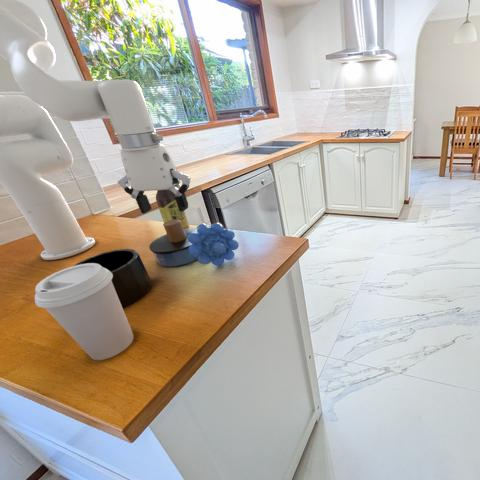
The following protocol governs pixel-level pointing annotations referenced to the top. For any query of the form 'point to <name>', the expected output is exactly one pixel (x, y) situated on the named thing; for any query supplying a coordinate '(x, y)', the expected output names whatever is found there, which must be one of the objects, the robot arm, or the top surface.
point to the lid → (172, 238)
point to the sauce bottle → (170, 207)
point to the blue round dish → (175, 258)
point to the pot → (124, 274)
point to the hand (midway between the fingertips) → (165, 210)
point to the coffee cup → (87, 309)
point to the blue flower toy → (212, 244)
